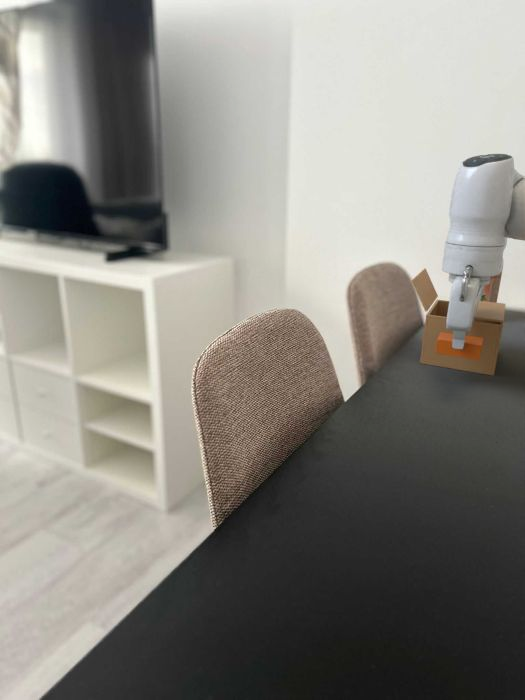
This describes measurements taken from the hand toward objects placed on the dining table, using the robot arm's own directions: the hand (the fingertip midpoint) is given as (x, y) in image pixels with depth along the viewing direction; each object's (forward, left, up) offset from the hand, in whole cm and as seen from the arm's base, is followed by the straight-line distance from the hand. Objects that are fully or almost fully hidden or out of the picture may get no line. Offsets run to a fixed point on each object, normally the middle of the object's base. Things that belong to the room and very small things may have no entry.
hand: (459, 342), depth 87 cm
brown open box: (+4, -12, -7) cm, 15 cm away
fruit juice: (+15, -45, -7) cm, 48 cm away
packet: (0, 0, -2) cm, 2 cm away
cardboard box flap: (+12, -10, +6) cm, 16 cm away
